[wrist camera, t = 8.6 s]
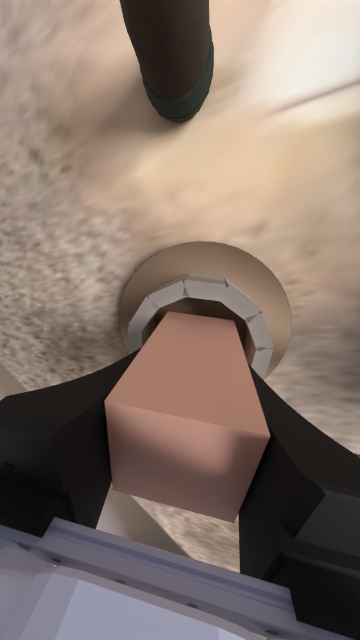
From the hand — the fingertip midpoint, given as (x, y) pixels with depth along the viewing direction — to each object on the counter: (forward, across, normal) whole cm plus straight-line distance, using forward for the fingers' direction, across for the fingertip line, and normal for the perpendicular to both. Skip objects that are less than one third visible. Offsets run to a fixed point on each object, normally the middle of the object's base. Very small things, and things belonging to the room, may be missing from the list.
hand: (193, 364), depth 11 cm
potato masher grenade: (+6, +3, -15) cm, 16 cm away
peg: (+2, 0, 0) cm, 2 cm away
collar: (+5, 0, 0) cm, 5 cm away
